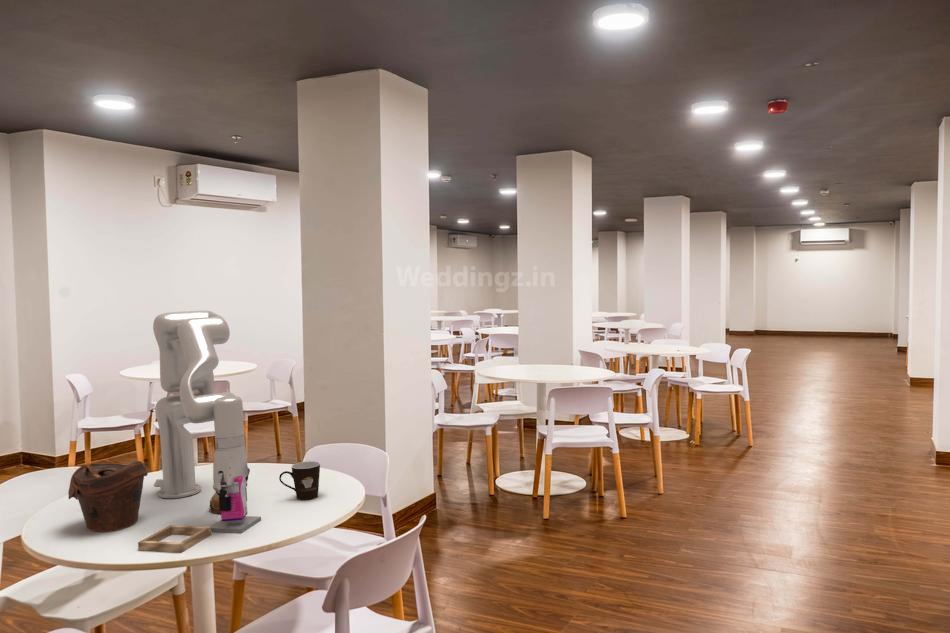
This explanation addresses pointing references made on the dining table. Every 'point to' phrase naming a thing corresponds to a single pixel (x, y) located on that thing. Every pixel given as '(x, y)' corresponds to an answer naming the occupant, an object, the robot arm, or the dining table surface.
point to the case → (108, 494)
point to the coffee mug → (305, 479)
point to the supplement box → (236, 501)
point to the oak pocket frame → (155, 545)
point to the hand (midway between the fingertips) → (233, 505)
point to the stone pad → (235, 525)
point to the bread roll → (215, 504)
